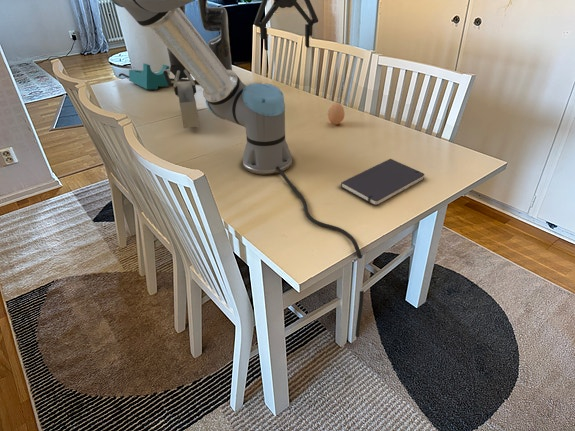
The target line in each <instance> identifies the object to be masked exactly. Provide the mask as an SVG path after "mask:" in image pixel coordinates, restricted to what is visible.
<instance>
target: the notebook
mask: <svg viewBox="0 0 575 431" xmlns="http://www.w3.org/2000/svg"><path fill="white" fill-rule="evenodd" d="M424 176H425V173H424V172H422V171H420V170H417V169H415V168H413V167H410V166H408V165H406V164H404V163H401V162H399V161H397V160H395V159H393V158H389V159H387V160H385V161H382V162H380V163H379V164H377V165H375V166H372V167H370V168H368V169H366V170H364V171H362V172H360V173H358V174H356V175H353V176H351V177H350V178H348V179H345V180H344V181H341V182H340V183H341V184H340V187H341V188H342V189H344V190H345V191H347V192H349V193H350V194H353V195H355V196H356V197H358V198H360V199H362V200H363V201H365V202H367V203H369V204H371V205H373V206H379V205H381V204H382V203H384V202H386V201H388V200H390V199H391V198H393V197H395V196H397V195H398V194H400V193H402V192H404V191H406V190H407V189H409V188H411V187H413V186H415V185H416V184H418V183H420V182H422V181H423V180H424Z"/></svg>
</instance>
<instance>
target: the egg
mask: <svg viewBox="0 0 575 431" xmlns="http://www.w3.org/2000/svg"><path fill="white" fill-rule="evenodd" d="M327 111H328V112H327V119H328V121H329V122H330V123H331V124H332V125H340V124H341V123H342V122H343V120H344V118H345V109H344V107H343V105H342V104H341V103H339V102H334V103H332V104H331V105H330V107H329V109H328V110H327Z"/></svg>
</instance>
